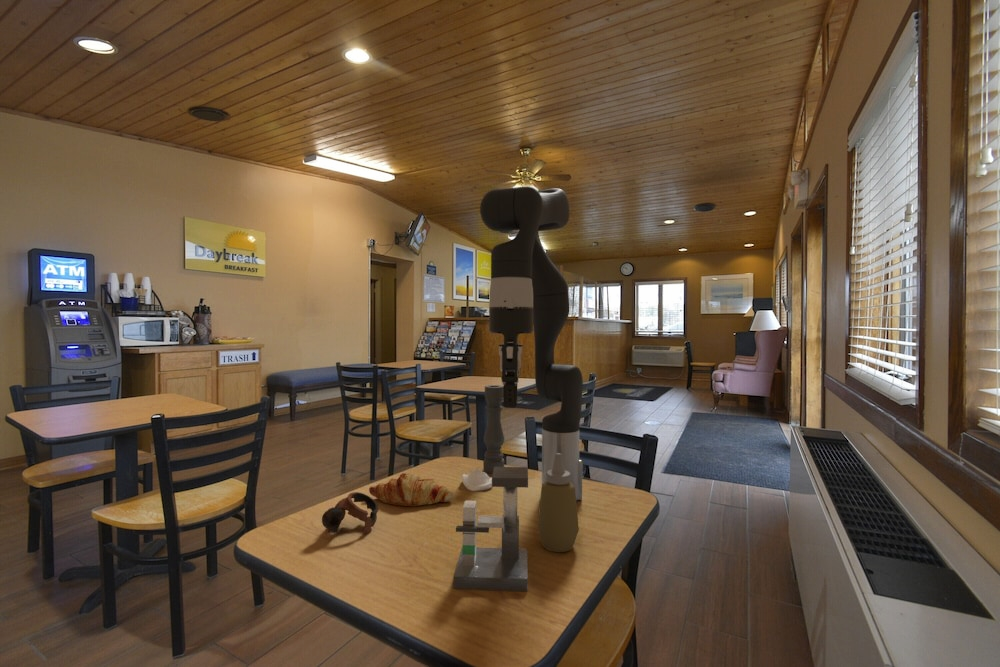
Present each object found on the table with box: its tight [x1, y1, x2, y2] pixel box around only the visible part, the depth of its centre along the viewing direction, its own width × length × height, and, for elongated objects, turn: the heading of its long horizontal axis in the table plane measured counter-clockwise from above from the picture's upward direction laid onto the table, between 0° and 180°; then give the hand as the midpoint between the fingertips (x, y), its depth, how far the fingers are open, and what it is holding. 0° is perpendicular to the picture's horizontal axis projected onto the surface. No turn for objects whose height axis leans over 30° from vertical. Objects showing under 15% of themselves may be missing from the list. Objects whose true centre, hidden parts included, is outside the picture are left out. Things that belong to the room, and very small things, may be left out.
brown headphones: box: [321, 491, 379, 535], centre depth 96 cm, size 12×10×8 cm
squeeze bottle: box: [537, 453, 580, 553], centre depth 90 cm, size 8×8×18 cm
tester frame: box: [453, 500, 529, 592], centre depth 79 cm, size 12×10×12 cm
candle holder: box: [482, 384, 505, 475], centre depth 136 cm, size 6×6×25 cm
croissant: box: [368, 472, 455, 507], centre depth 112 cm, size 21×10×8 cm, turn 87°
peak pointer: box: [455, 525, 490, 534], centre depth 77 cm, size 6×1×1 cm, turn 87°
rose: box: [461, 468, 493, 492], centre depth 124 cm, size 10×4×10 cm
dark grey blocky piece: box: [476, 466, 529, 533], centre depth 79 cm, size 8×6×10 cm
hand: (510, 403), depth 79 cm, fingers open, 5 cm apart
